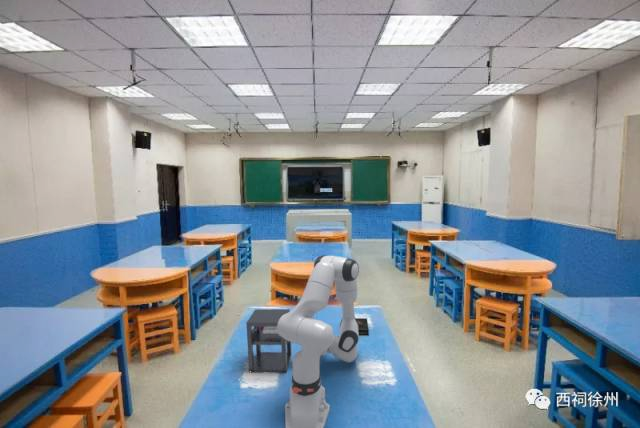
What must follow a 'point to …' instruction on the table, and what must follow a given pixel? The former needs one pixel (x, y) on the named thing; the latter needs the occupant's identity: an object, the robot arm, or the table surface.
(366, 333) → the portable cd player
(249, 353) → the rack
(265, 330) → the strip
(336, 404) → the table surface
